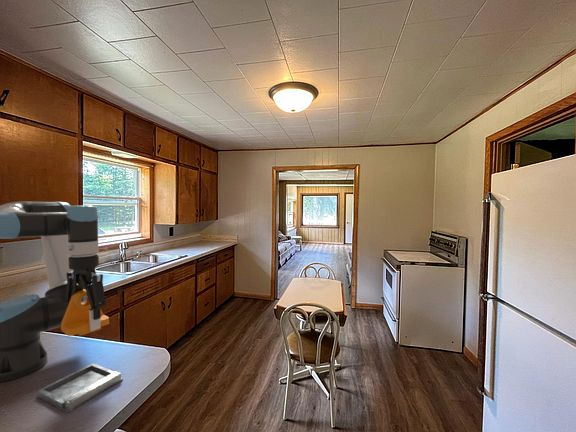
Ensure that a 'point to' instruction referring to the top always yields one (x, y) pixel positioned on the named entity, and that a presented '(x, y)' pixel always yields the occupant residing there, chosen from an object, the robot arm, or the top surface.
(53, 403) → the tray
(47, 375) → the top surface
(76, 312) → the bracket
